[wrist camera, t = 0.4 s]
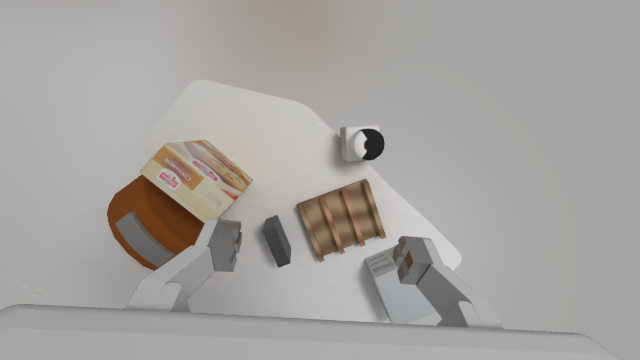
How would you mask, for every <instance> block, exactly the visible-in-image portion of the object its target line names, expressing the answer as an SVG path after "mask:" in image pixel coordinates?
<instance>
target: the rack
mask: <svg viewBox="0 0 640 360" xmlns="http://www.w3.org/2000/svg"><path fill="white" fill-rule="evenodd" d="M297 206H298V209H299V211H300V214H301V216H302V219H303V221H304V224H305V226H306V229H307V231H308V234H309V236H310V239H311V241H312V244H313V247H314V249H315V252H316V254H317V257H318V259H319V261H320V262H322V261H324V258H323V256H324V255H327V254H330V253H332V252H335V251H338V250H339V252H340V254H343V253H345V252H344V249H343V248H346V247H348V246H351V245H354V244H356V243H359V244H360V245H361V247H362V246H364V245H365V242H364V240H367V239H370V238H372V237H375V236H378V235H379V236H380V237H381V239H383V238H386V236H385V232H384V229H383V226H382V223H381V220H380V217H379V214H378V210H377V207H376V204H375V201H374V198H373V195H372V192H371V188H370V185H369V182H368V181H367V179H363V180H361V181H358V182H355V183H353V184H350V185H347V186H344V187H342V188H339V189H336V190H334V191H331V192H328V193H326V194H323V195H320V196H317V197H315V198H312V199H309V200H307V201H304V202H301V203H298V204H297Z"/></svg>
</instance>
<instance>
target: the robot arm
mask: <svg viewBox="0 0 640 360" xmlns="http://www.w3.org/2000/svg"><path fill="white" fill-rule="evenodd" d="M240 229H241V222H238V221H230V220H221V219H211V218H208V219H207V220H206V222H205V224H204V226H203V228H202V230H201V232H200V234H199V237H198V239H197V241H196V243H195V245H194V246H189V247H188V248H187V249H185V250H184V251H182V252H181V253H180V254H178V255H177V256H175V257H174V258H172V259H171V260H170V261H168V262H167V263H165V264H164V265H162V266H161V267H160V268H158V269H157V270H155V271H154V272H153V273H151V274H150V275H148V276H147V277H145V278H144V279H143V280H142V281H141V283H140V284H139V286H138V288H137V289H136V291H135V293H134V294H133V296H132V298H131V299H130V301H129V303H128V304H127V306H126V308H125V309H110V308H91V307H72V306H53V305H33V304H19V305H13V306H9V307H6V308H4V309H2V310H0V360H622V359H621V358H619V357H618V356H616V355H615V354H613V353H612V352H611V351H609V350H608V349H607V348H605V347H604V346H602V345H601V344H599V343H598V342H596V341H595V340H593V339H592V338H590V337H588V336H586V335H584V334H580V333H568V332H547V331H527V330H508V329H503V328H502V326H501V324H500V322H499V320H498V318H497V317H496V315H495V313H494V311H493V309H492V307H491V306H490V304H489V302H488V301H487V300H485V299H484V298H483V297H482V296H481V295H479V293H477V292H476V291H475V290H474V289H473V288H472V287H471V286H469V285H468V284H467V283H466V282H465V281H464V280H463V279H461V278H460V277H459V276H458V275H457V274H456V273H454V272H453V271H452V270H451V269H450V268H449V267H448V266H445V265H444V264H443V262H442V260H441V258H440V256H439V254H438V252H437V250H436V247H435V245H434V243H433V241H432V240H431V239H430V238H420V237H409V236H401V237H400V238H399V240H398V241H399V244H398V245H396V246H395V248H394V250H393V260H394V264H395V265H396V266H397V267H398V270H397V274H398V277H399V281H400V284H410V285H416V287H417V288H418V289H419V290H420V291H421V293H422V294H423V295H424V296H425V298H426V299H427V300H428V301H429V302H430V304H431V305H432V306H433V307H434V309H435V310H436V311H437V312H438V313H439V315H440V316H441V317H442V318H443V319H442V320H441V321H440V322H439V323H438V324H437V325H436V326H432V325H413V324H394V323H375V322H356V321H337V320H319V319H299V318H280V317H261V316H242V315H223V314H204V313H191V312H190V309H189V306H188V303H187V299H188V298H189V297H190V296H191V295H192V294H193V293H194V292H195V291H196V290H197V289H198V288H199V287H200V286H201V285H202V284H203V283H204V282H205V281H206V280H207V279H208V278H209V277H210V276H211V275H212V274H213V273H214V271H224V272H233V270H234V267H235V264H236V260H237V258H236V254H237V253H238V252H239V250H240V246H241V239H242V233H241V232H240Z"/></svg>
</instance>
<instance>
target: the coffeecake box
mask: <svg viewBox="0 0 640 360" xmlns="http://www.w3.org/2000/svg"><path fill="white" fill-rule="evenodd" d="M140 173H141V174H142V175H144V176H145V177H146V178H147V179H149V180H150V181H151V182H152V183H154V184H155V185H156V186H158V187H159V188H160V189H161V190H163V191H164V192H165V193H166V194H168V195H169V196H170V197H172V198H173V199H174V200H175V201H177V202H178V203H179V204H181V205H182V206H183V207H184V208H186V209H187V210H188V211H189V212H191V213H192V214H193V215H195V216H196V217H197V218H198V219H200V220H201V221H202V222H204V223H205V222H206V220H207V219H208V218H211V219H219V218H220V216H221V215H222V214H223V213H224V212H225V211H226V210H227V209H228V208H229V207H230V206H231V205H232V204H233V203H234V201H235V200H236V199H237V198H238V197H239V196H240V195H241V194H242V192H243V191H244V190H245V189H246V188H247V187H248V186H249V184H250V183H251V182H252V181H253V180H252V179H251V178H250V177H249V176H248V175H247V174H246V173H245V172H243V171H242V170H241V169H240V168H239V167H237V166H236V165H235V164H234V163H233V162H232V161H230V160H229V159H228V158H227V157H226V156H225V155H223V154H222V153H221V152H220V151H219V150H218V149H216V148H215V147H214V146H213V145H212V144H210V143H209V142H208V141H207V140H200V141H189V142H179V143H168V144H164V146H163V147H162V148H161V149H160V150H159V151H158V152H157V153H156V154H155V155H154V156H153V158H152V159H151V160H150V161H149V162H148V163H147V164H146V165H145V166H144V167H143V169H142V170H141V171H140Z"/></svg>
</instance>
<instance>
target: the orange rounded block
mask: <svg viewBox="0 0 640 360" xmlns="http://www.w3.org/2000/svg"><path fill="white" fill-rule="evenodd" d="M107 216H108V221H109V225H110V228H111V230H112V233H113V235H114V237H115V239H116V240H117V241H118V242H119V243H120V245H121V246H122V247H123V248H124V249H125V251H126V252H127V253H128V254H129V255H131V256H132V257H133V258H134V259H135V260H137V261H138V262H139V263H140V264H142V265H143V266H144V267H147V268H149V269H151V270H154V271H155V270H157V269H158V268H160V267H161V266H162V265H164V264H165V263H167V262H168V261H170V260H171V259H172V258H174V257H175V256H177V255H178V254H180V253H181V252H182V251H184V250H185V249H187V248H188V247H189V246H194V245H195V243H196V241H197V239H198V237H199V234H200V232H201V230H202V228H203V226H204V224H205V223H204V222H202V221H201V220H200V219H198V218H197V217H196V216H195V215H193V214H192V213H191V212H189V211H188V210H187V209H186V208H184V207H183V206H182V205H181V204H179V203H178V202H177V201H175V200H174V199H173V198H172V197H170V196H169V195H168V194H166V193H165V192H164V191H163V190H161V189H160V188H159V187H158V186H156V185H155V184H154V183H152V182H151V181H150V180H149V179H147V178H146V177H145V176H144V175H141V176H139V177H138V178H137V179H135V180H134V181H133V182H131V183H130V184H129V185H127V186H126V187H124V188H123V189H122V190H120V191H119V192H118V193H116V194H115V196H114V197H113V199H112V201H111V202H110V204H109V207H108V212H107Z"/></svg>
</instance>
